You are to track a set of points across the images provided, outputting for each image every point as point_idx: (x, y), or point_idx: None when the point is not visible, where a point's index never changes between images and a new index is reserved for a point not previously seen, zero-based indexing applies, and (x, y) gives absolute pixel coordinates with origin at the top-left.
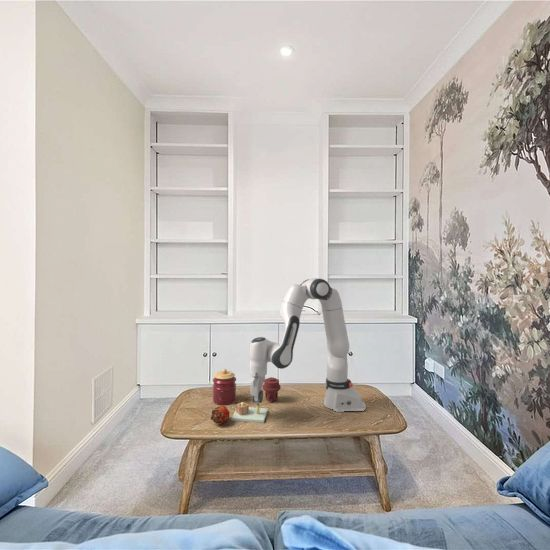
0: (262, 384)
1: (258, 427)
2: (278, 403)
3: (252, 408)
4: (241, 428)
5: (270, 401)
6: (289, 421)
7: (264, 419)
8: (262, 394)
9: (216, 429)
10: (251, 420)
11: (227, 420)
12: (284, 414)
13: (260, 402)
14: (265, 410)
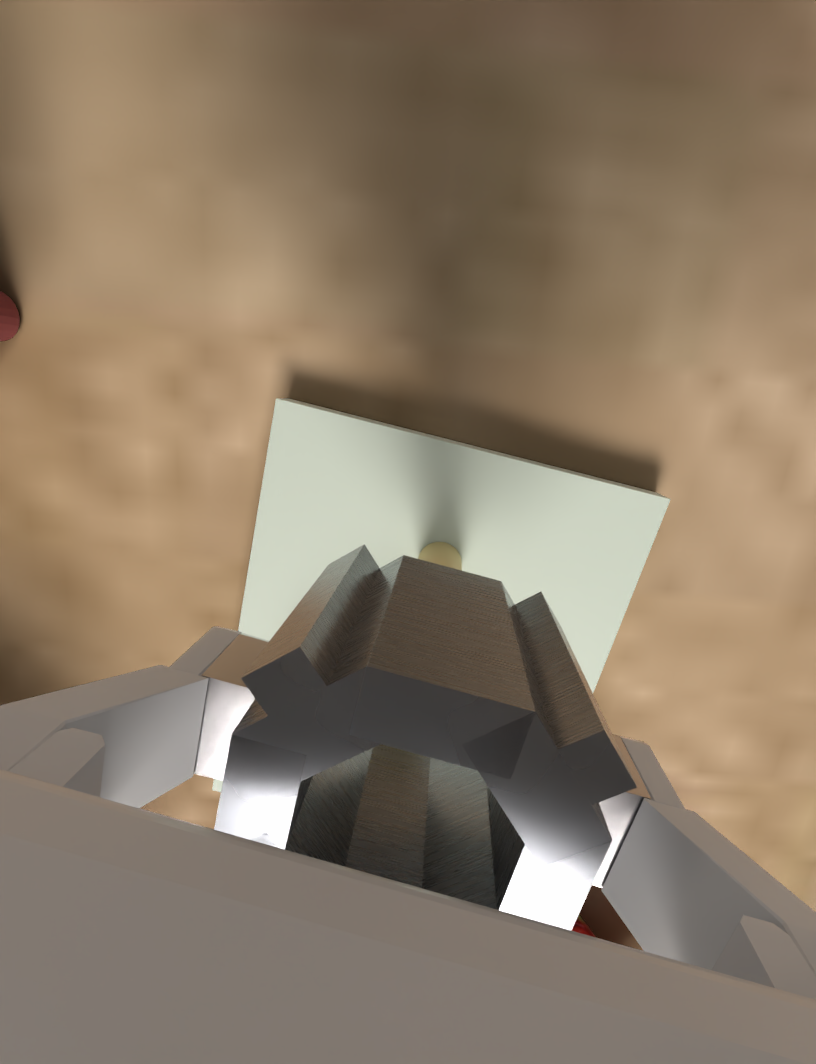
0: (12, 866)
1: (765, 570)
2: (32, 191)
3: (275, 624)
4: (733, 763)
5: (4, 329)
6: (698, 39)
7: (590, 476)
8: (439, 639)
9: None
10: (602, 655)
11: (579, 916)
12: (429, 115)
13: (559, 625)
14: (345, 443)
